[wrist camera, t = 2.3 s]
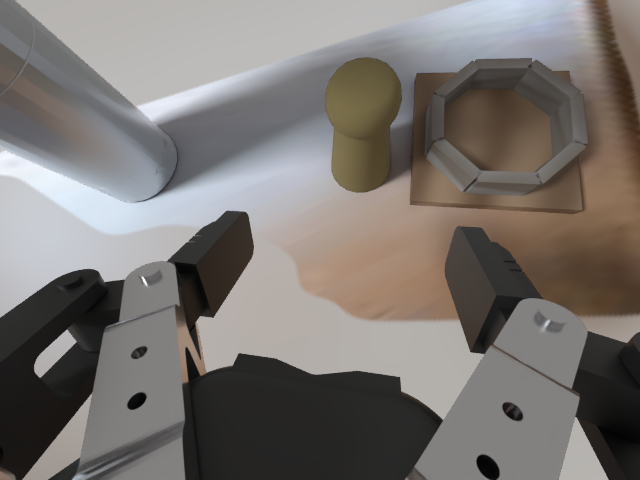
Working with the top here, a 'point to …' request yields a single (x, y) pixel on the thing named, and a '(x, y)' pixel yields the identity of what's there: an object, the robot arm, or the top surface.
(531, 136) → the socket base
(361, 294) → the top surface
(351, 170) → the cork
